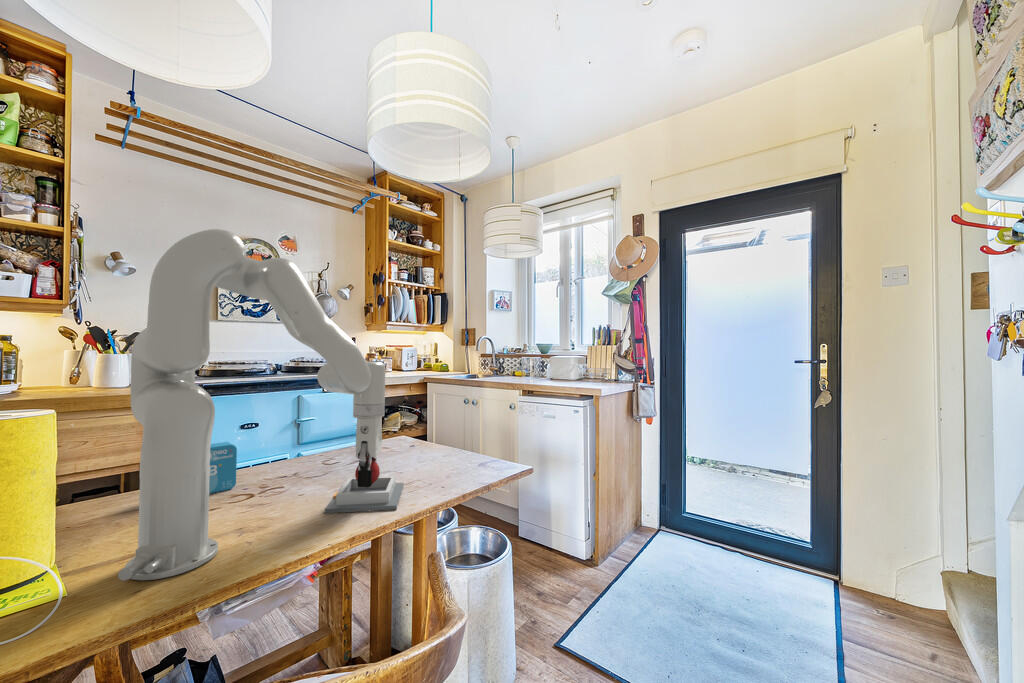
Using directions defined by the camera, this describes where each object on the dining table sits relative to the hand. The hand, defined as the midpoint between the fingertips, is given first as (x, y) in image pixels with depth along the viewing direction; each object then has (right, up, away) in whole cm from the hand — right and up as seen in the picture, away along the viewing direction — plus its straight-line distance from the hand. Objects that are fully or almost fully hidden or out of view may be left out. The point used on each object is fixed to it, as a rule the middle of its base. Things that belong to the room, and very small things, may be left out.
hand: (367, 481), depth 101 cm
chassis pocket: (0, -4, 0) cm, 4 cm away
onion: (0, -2, 0) cm, 2 cm away
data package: (-43, -4, +3) cm, 43 cm away
